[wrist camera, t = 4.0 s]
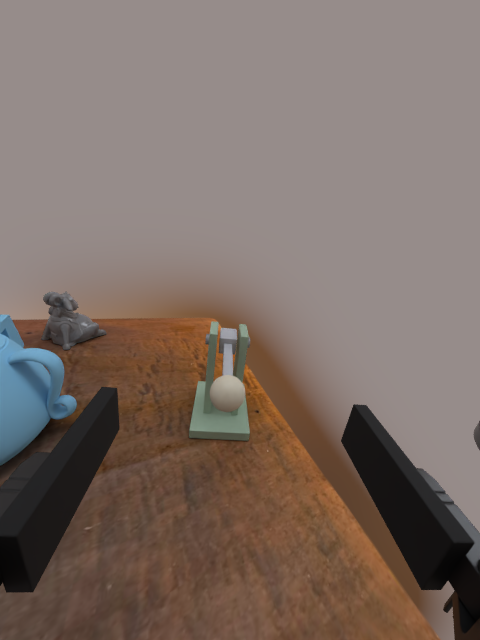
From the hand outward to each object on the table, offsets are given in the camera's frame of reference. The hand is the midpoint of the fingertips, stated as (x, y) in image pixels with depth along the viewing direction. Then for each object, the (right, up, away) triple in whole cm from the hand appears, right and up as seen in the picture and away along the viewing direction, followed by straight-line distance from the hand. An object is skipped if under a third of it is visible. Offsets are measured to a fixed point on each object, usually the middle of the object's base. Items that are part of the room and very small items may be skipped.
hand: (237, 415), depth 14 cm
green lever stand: (-3, -9, +24) cm, 26 cm away
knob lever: (-2, -1, +16) cm, 16 cm away
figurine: (-36, +1, +40) cm, 54 cm away
